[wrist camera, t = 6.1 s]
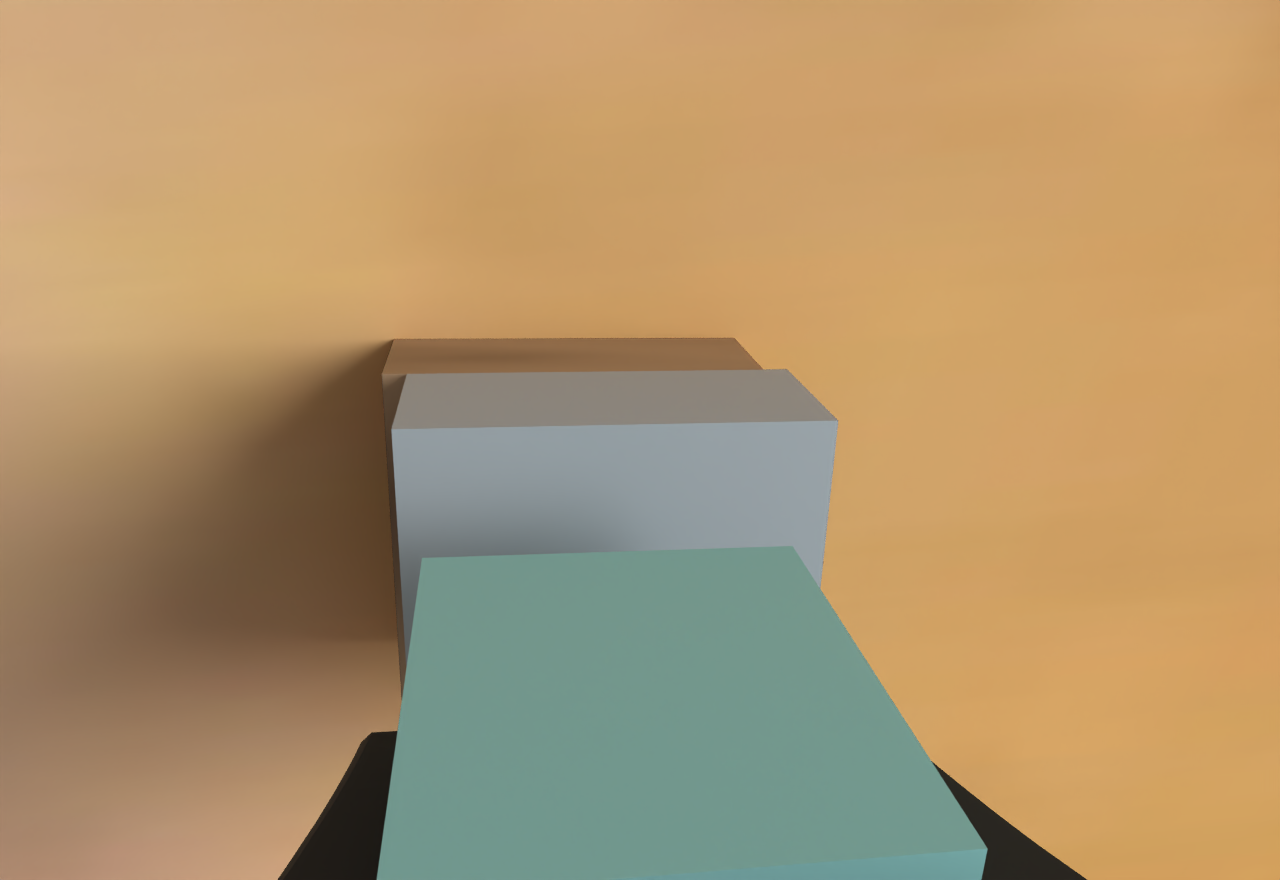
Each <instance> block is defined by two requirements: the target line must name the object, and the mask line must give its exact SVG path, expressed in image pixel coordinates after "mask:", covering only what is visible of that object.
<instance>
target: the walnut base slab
mask: <svg viewBox="0 0 1280 880" xmlns="http://www.w3.org/2000/svg"><path fill="white" fill-rule="evenodd" d="M694 370H763V369H762V367H761V366H760V365H759V364H758V363H757V362H756V361H755V360H754V359H753V358H752V357H751V356H750V354H749V353H748V352H747V351H746V350H745V349H744V348H743V347H742V346H741V345H740V344H739V343H738V342H737V340H736V339H735V338H560V339H394V341H393V344H392V346H391V349H390V352H389V355H388V358H387V361H386V363H385V366H384V369H383V372H382V386H383V402H384V419H385V435H386V451H387V468H388V484H389V501H390V517H391V533H392V550H393V566H394V583H395V599H396V615H397V632H398V648H399V665H400V681H401V697H402V696H403V689H404V682H405V675H406V654H405V638H404V622H403V606H402V590H401V574H400V558H399V542H398V527H397V511H396V495H395V479H394V463H393V447H392V431H391V429H392V425H393V422H394V418H395V415H396V411H397V408H398V404H399V400H400V397H401V393H402V390H403V386H404V382H405V379H406V375H407V374H437V373H521V372H607V371H694Z"/></svg>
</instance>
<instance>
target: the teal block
mask: <svg viewBox="0 0 1280 880" xmlns="http://www.w3.org/2000/svg"><path fill="white" fill-rule="evenodd" d="M987 849H988V848H987V847H986V845H985V844H984V842H983V841H982V839H981V838H980V836H979V835H978V833H977V831H976V830H975V828H974V827H973V825H972V824H971V822H970V821H969V819H968V817H967V816H966V814H965V813H964V811H963V810H962V808H961V807H960V805H959V803H958V802H957V800H956V799H955V797H954V796H953V794H952V793H951V791H950V790H949V788H948V786H947V785H946V783H945V782H944V780H943V779H942V777H941V776H940V774H939V772H938V771H937V769H936V768H935V766H934V765H933V763H932V762H931V760H930V759H929V757H928V755H927V754H926V752H925V751H924V749H923V748H922V746H921V745H920V743H919V741H918V740H917V738H916V737H915V735H914V734H913V732H912V731H911V729H910V727H909V726H908V724H907V723H906V721H905V720H904V718H903V717H902V715H901V714H900V712H899V710H898V709H897V707H896V706H895V704H894V703H893V701H892V700H891V698H890V696H889V695H888V693H887V692H886V690H885V689H884V687H883V686H882V684H881V682H880V681H879V679H878V678H877V676H876V675H875V673H874V672H873V670H872V669H871V667H870V665H869V664H868V662H867V661H866V659H865V658H864V656H863V655H862V653H861V651H860V650H859V648H858V647H857V645H856V644H855V642H854V641H853V639H852V638H851V636H850V634H849V633H848V631H847V630H846V628H845V627H844V625H843V624H842V622H841V620H840V619H839V617H838V616H837V614H836V613H835V611H834V610H833V608H832V606H831V605H830V603H829V602H828V600H827V599H826V597H825V596H824V594H823V593H822V591H821V589H820V588H819V586H818V585H817V583H816V582H815V580H814V579H813V577H812V575H811V574H810V572H809V571H808V569H807V568H806V566H805V565H804V563H803V561H802V560H801V558H800V557H799V555H798V554H797V552H796V551H795V549H794V548H793V546H776V547H745V548H714V549H683V550H653V551H622V552H591V553H560V554H529V555H498V556H467V557H436V558H422V562H421V569H420V576H419V583H418V590H417V597H416V604H415V611H414V618H413V625H412V633H411V640H410V647H409V654H408V661H407V668H406V675H405V682H404V689H403V696H402V704H401V711H400V718H399V725H398V732H397V739H396V746H395V753H394V760H393V767H392V774H391V782H390V789H389V796H388V803H387V810H386V817H385V824H384V831H383V838H382V845H381V853H380V860H379V867H378V874H377V880H981V879H982V874H983V869H984V864H985V859H986V854H987Z"/></svg>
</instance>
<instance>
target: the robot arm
mask: <svg viewBox="0 0 1280 880" xmlns="http://www.w3.org/2000/svg"><path fill="white" fill-rule="evenodd" d="M397 732H398V731H391V732H374V733H371V734H370V735H369V736H367V737H366V738H365V739H364V740H363V741H362V742H361V744H360V746H359V748H358V750H357V752H356V754H355V756H354V758H353V760H352V762H351V764H350V765H349V767H348V769H347V771H346V773H345V775H344V776H343V778H342V780H341V782H340V783H339V785H338V787H337V789H336V790H335V792H334V794H333V795H332V797H331V799H330V800H329V802H328V804H327V805H326V807H325V809H324V810H323V812H322V813H321V815H320V817H319V818H318V820H317V822H316V823H315V825H314V826H313V828H312V829H311V831H310V832H309V834H308V835H307V837H306V838H305V840H304V841H303V843H302V844H301V846H300V847H299V849H298V850H297V852H296V853H295V855H294V856H293V858H292V859H291V861H290V862H289V864H288V865H287V867H286V868H285V870H284V871H283V873H282V874H281V876H280V877H279V878H278V880H377V874H378V867H379V860H380V853H381V845H382V838H383V831H384V824H385V817H386V810H387V803H388V796H389V789H390V782H391V774H392V767H393V760H394V753H395V746H396V739H397ZM931 762H932V761H931ZM932 763H933V762H932ZM933 765H934V766H935V768H936V769H937V771H938V772H939V774H940V776H941V777H942V779H943V780H944V782H945V783H946V785H947V786H948V788H949V790H950V791H951V793H952V794H953V796H954V797H955V799H956V800H957V802H958V803H959V805H960V807H961V808H962V810H963V811H964V813H965V814H966V816H967V817H968V819H969V821H970V822H971V824H972V825H973V827H974V828H975V830H976V831H977V833H978V835H979V836H980V838H981V839H982V841H983V842H984V844H985V845H986V847H987V848H988V849H987V854H986V859H985V864H984V869H983V874H982V879H981V880H1087V879H1085V878H1084V877H1082V876H1081V875H1080V874H1078V873H1077V872H1075V871H1074V870H1073V869H1071V868H1070V867H1068V866H1067V865H1066V864H1064V863H1063V862H1061V861H1060V860H1058V859H1057V858H1056V857H1054V856H1053V855H1051V854H1050V853H1049V852H1047V851H1046V850H1044V849H1043V848H1042V847H1040V846H1039V845H1037V844H1036V843H1035V842H1033V841H1032V840H1031V839H1029V838H1028V837H1027V836H1025V835H1024V834H1023V833H1021V832H1020V831H1019V830H1017V829H1016V828H1015V827H1013V826H1012V825H1011V824H1009V823H1008V822H1007V821H1006V820H1004V819H1003V818H1002V817H1000V816H999V815H998V814H996V813H995V812H994V811H993V810H991V809H990V808H989V807H988V806H986V805H985V804H984V803H982V802H981V801H980V800H979V799H977V798H976V797H975V796H974V795H972V794H971V793H970V792H969V791H967V790H966V789H965V788H964V787H962V786H961V785H960V784H959V783H957V782H956V781H955V780H954V779H952V778H951V777H950V776H949V775H948V774H946V773H945V772H944V771H943V770H941V769H940V768H939V767H938V766H937V765H935V764H934V763H933Z"/></svg>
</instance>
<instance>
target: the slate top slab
mask: <svg viewBox="0 0 1280 880" xmlns="http://www.w3.org/2000/svg"><path fill="white" fill-rule="evenodd" d="M837 427H838V420H837V419H836V418H835V417H834V416H833V415H832V414H831V413H830V412H829V411H828V410H827V409H826V408H825V407H824V406H823V405H822V404H821V403H820V402H819V401H818V400H817V399H816V398H815V397H814V396H813V395H812V394H811V393H810V392H809V391H808V390H807V389H806V388H805V387H804V386H803V385H802V384H801V383H800V382H799V381H798V380H797V379H796V378H795V377H794V376H793V375H792V374H791V373H790V372H789V371H788V370H787V369H780V370H694V371H607V372H521V373H437V374H407V375H406V379H405V382H404V386H403V390H402V393H401V397H400V400H399V404H398V408H397V411H396V415H395V418H394V422H393V425H392V429H391V431H392V447H393V463H394V479H395V495H396V511H397V527H398V542H399V558H400V574H401V590H402V606H403V622H404V638H405V654H406V668H407V661H408V654H409V647H410V640H411V633H412V625H413V618H414V611H415V604H416V597H417V590H418V583H419V576H420V569H421V562H422V558H436V557H467V556H498V555H529V554H560V553H591V552H622V551H653V550H683V549H714V548H745V547H776V546H793V548H794V549H795V551H796V552H797V554H798V555H799V557H800V558H801V560H802V561H803V563H804V565H805V566H806V568H807V569H808V571H809V572H810V574H811V575H812V577H813V579H814V580H815V582H816V583H817V585H818V586H819V588H820V586H821V576H822V567H823V558H824V548H825V539H826V530H827V520H828V511H829V502H830V492H831V483H832V474H833V464H834V455H835V446H836V436H837Z"/></svg>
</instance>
